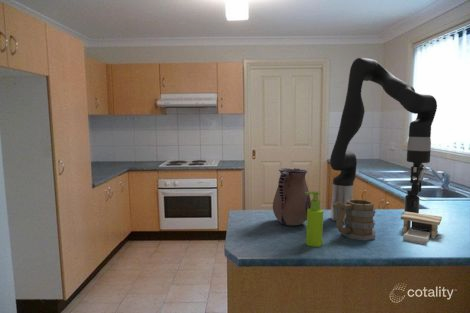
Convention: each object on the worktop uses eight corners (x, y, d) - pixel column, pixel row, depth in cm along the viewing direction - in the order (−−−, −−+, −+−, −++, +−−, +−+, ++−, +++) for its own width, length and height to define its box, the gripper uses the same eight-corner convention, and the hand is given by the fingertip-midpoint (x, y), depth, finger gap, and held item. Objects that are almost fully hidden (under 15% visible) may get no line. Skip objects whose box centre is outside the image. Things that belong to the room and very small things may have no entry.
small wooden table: (438, 238, 132) (439, 222, 131) (399, 231, 140) (400, 216, 139) (440, 232, 141) (441, 216, 140) (404, 225, 149) (405, 211, 148)
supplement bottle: (417, 212, 175) (418, 189, 174) (420, 215, 169) (421, 192, 168) (403, 210, 177) (404, 188, 176) (405, 213, 171) (406, 191, 170)
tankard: (360, 229, 143) (361, 195, 142) (382, 238, 131) (384, 201, 130) (321, 233, 136) (322, 198, 135) (341, 243, 124) (342, 205, 123)
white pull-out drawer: (426, 244, 125) (426, 238, 125) (403, 240, 129) (403, 234, 129) (430, 234, 137) (431, 229, 137) (409, 231, 141) (409, 225, 141)
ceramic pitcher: (314, 220, 155) (316, 168, 153) (304, 233, 136) (305, 173, 134) (278, 216, 163) (279, 166, 160) (264, 227, 143) (265, 171, 141)
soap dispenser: (301, 241, 126) (303, 190, 125) (318, 241, 127) (320, 190, 125) (306, 246, 121) (307, 193, 119) (324, 246, 121) (326, 193, 119)
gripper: (428, 150, 112) (425, 197, 114) (432, 149, 124) (429, 191, 125) (404, 149, 117) (401, 194, 118) (410, 148, 128) (407, 189, 129)
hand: (416, 193), depth 121 cm, fingers open, 8 cm apart
